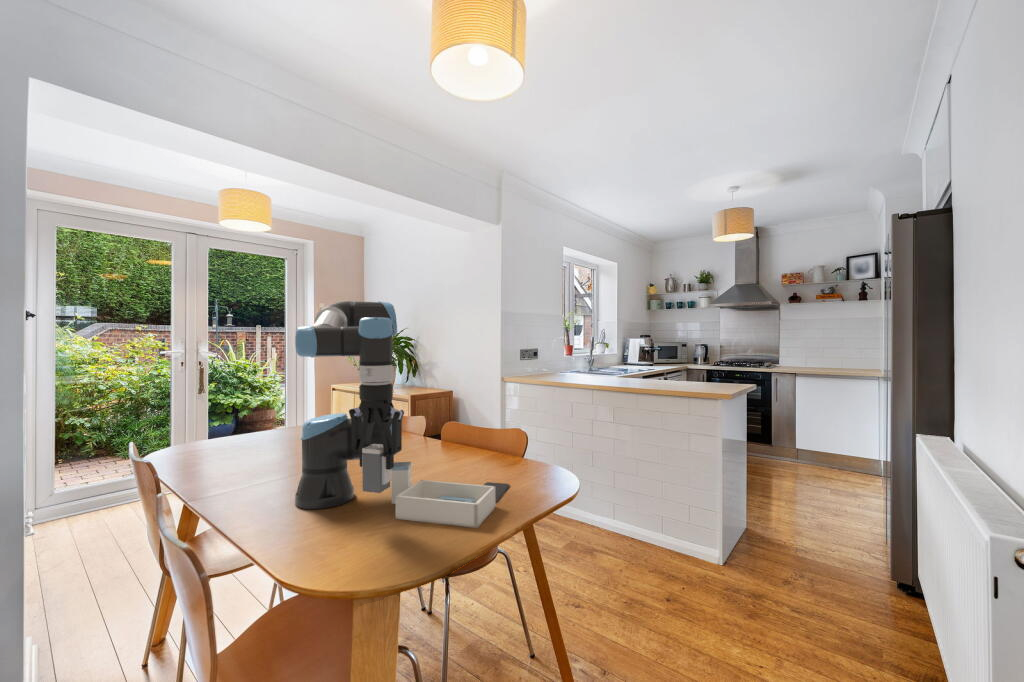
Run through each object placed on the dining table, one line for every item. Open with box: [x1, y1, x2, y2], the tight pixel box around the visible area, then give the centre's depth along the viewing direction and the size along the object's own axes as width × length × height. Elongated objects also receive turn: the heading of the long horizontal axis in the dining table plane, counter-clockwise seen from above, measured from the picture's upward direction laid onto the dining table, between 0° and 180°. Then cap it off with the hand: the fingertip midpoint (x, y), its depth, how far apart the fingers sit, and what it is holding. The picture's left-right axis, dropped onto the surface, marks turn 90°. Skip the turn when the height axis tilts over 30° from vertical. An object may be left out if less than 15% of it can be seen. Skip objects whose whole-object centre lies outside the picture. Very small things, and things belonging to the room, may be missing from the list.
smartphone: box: [483, 481, 510, 504], centre depth 127 cm, size 8×1×16 cm
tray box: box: [395, 479, 497, 529], centre depth 112 cm, size 22×14×6 cm, turn 74°
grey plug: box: [362, 444, 391, 494], centre depth 103 cm, size 5×5×10 cm
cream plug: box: [390, 461, 412, 504], centre depth 121 cm, size 5×5×10 cm
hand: (376, 481), depth 104 cm, fingers closed on grey plug, 4 cm apart
